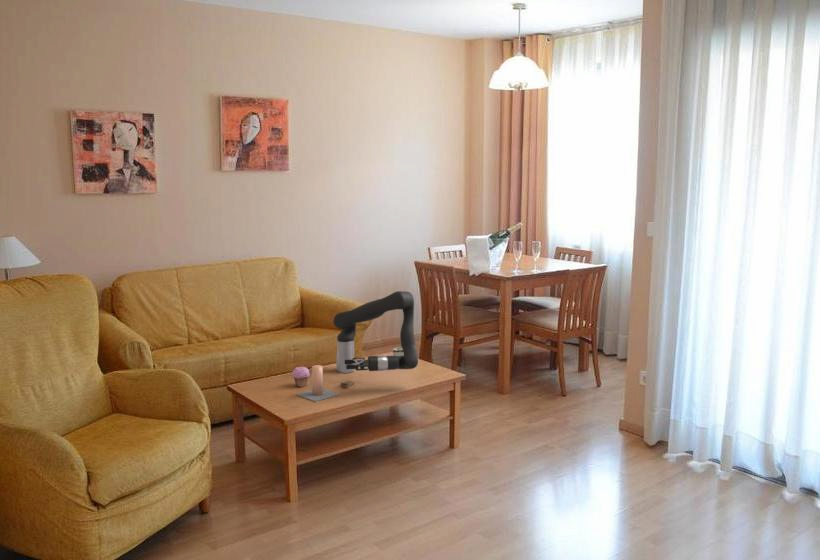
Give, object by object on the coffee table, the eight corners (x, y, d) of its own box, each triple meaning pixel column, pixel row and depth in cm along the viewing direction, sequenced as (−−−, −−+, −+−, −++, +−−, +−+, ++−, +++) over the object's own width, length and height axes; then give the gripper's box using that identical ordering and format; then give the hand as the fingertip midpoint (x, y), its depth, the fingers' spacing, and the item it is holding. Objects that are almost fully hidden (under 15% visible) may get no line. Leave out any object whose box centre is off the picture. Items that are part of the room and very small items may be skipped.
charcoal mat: (296, 395, 360) (296, 394, 360) (319, 388, 370) (319, 387, 370) (315, 402, 349) (315, 400, 349) (339, 395, 360) (339, 393, 360)
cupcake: (289, 385, 375) (288, 366, 373) (302, 382, 381) (302, 363, 380) (299, 389, 369) (299, 370, 367) (313, 385, 375) (313, 366, 373)
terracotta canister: (310, 394, 360) (309, 366, 357) (318, 391, 363) (318, 364, 361) (317, 396, 356) (316, 368, 354) (325, 393, 360) (324, 366, 358)
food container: (414, 364, 416) (415, 347, 414) (413, 367, 410) (414, 349, 408) (393, 363, 417) (393, 346, 415) (392, 366, 411) (392, 349, 409)
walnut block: (340, 387, 374) (340, 382, 373) (346, 384, 378) (346, 380, 378) (348, 388, 371) (348, 384, 371) (354, 386, 375) (354, 381, 375)
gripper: (375, 352, 371) (343, 353, 368) (380, 359, 357) (346, 361, 354) (375, 366, 372) (343, 367, 369) (379, 374, 358) (346, 376, 355)
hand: (345, 364), depth 361 cm, fingers open, 8 cm apart
